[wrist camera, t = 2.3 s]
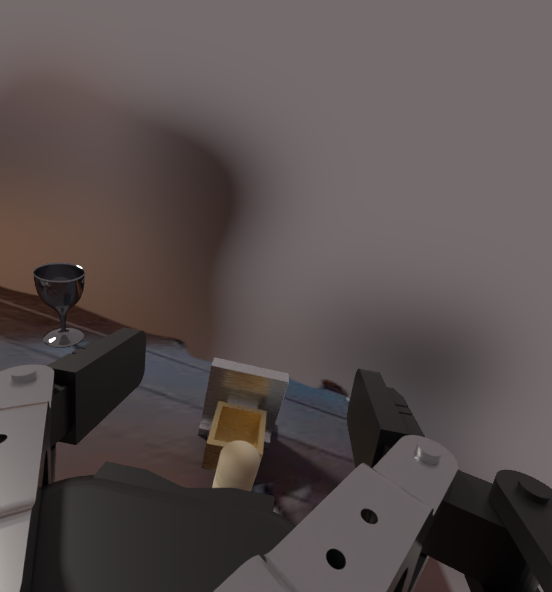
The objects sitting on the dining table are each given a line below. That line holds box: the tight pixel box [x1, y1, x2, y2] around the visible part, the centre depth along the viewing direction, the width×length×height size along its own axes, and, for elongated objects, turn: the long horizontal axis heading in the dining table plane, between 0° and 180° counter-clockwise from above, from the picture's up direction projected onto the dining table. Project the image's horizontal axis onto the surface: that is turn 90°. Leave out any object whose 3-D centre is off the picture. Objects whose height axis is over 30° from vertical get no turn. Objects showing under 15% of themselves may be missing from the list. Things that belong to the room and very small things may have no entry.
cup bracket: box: [198, 358, 289, 470], centre depth 49 cm, size 14×12×14 cm
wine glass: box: [33, 263, 85, 347], centre depth 62 cm, size 8×8×15 cm
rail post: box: [212, 441, 260, 491], centre depth 35 cm, size 4×4×18 cm
